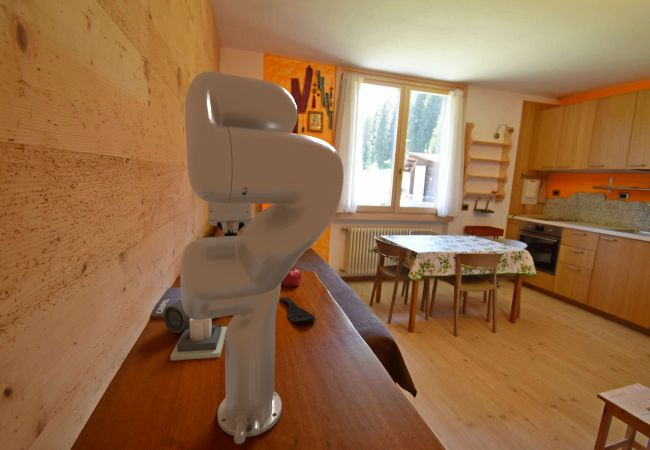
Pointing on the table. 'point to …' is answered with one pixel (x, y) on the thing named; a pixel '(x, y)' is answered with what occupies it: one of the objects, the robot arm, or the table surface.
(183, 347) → the socket board
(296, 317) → the hairbrush
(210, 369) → the table surface
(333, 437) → the table surface
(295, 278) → the pomegranate
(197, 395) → the table surface
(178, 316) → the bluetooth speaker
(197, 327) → the keyed plug
